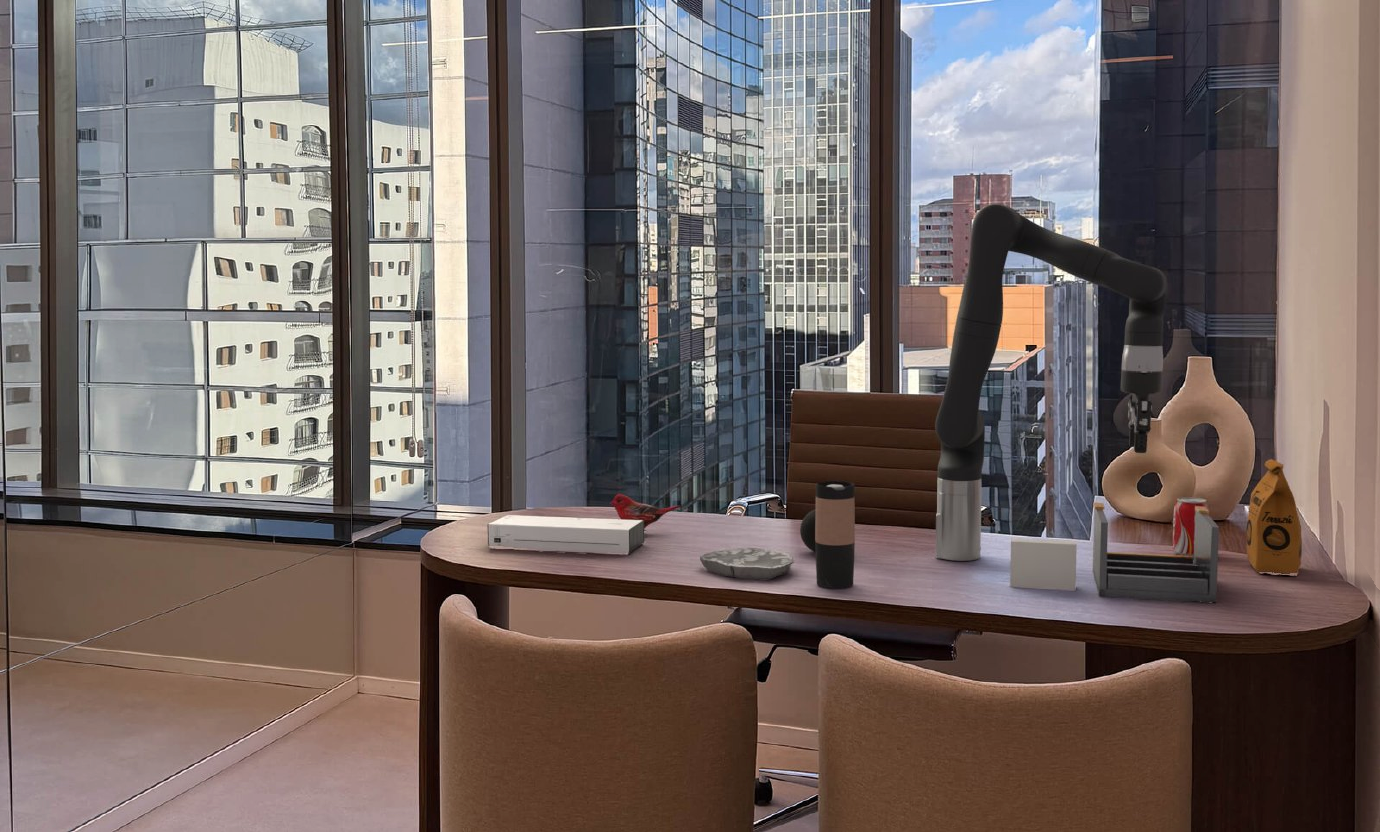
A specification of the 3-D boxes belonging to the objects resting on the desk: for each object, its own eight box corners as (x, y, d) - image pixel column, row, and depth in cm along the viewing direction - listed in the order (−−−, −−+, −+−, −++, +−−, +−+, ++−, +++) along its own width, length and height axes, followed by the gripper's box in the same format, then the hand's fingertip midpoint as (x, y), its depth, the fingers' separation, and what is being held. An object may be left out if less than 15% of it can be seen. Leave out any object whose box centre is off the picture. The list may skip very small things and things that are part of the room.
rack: (1097, 596, 209) (1099, 519, 207) (1091, 571, 228) (1092, 501, 226) (1218, 603, 203) (1221, 524, 201) (1201, 577, 222) (1203, 505, 221)
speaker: (793, 555, 245) (793, 510, 244) (810, 546, 254) (810, 502, 253) (836, 559, 241) (836, 514, 240) (852, 550, 250) (852, 506, 248)
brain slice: (810, 567, 235) (810, 553, 235) (774, 585, 220) (774, 570, 220) (728, 557, 245) (728, 544, 245) (688, 574, 230) (688, 560, 230)
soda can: (1187, 559, 238) (1189, 503, 236) (1165, 552, 244) (1166, 497, 243) (1215, 556, 239) (1217, 501, 238) (1192, 549, 246) (1194, 495, 245)
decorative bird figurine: (608, 534, 269) (608, 493, 268) (679, 529, 275) (678, 489, 274) (611, 537, 267) (610, 495, 266) (682, 531, 272) (682, 491, 271)
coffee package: (1246, 574, 224) (1251, 465, 221) (1243, 561, 235) (1247, 457, 233) (1303, 579, 220) (1308, 468, 217) (1297, 565, 231) (1302, 459, 229)
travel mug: (828, 577, 225) (828, 479, 223) (861, 583, 220) (862, 483, 218) (807, 585, 219) (807, 484, 217) (841, 591, 214) (841, 488, 212)
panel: (1010, 587, 217) (1010, 541, 216) (1010, 583, 219) (1011, 538, 218) (1075, 590, 213) (1076, 544, 212) (1074, 587, 216) (1075, 541, 215)
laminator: (644, 546, 258) (644, 519, 257) (628, 558, 246) (628, 530, 246) (507, 540, 266) (507, 514, 266) (486, 551, 255) (485, 524, 254)
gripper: (1117, 365, 229) (1113, 444, 231) (1125, 370, 215) (1121, 453, 217) (1157, 366, 227) (1152, 446, 229) (1167, 371, 213) (1162, 455, 215)
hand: (1137, 449), depth 223 cm, fingers open, 8 cm apart
